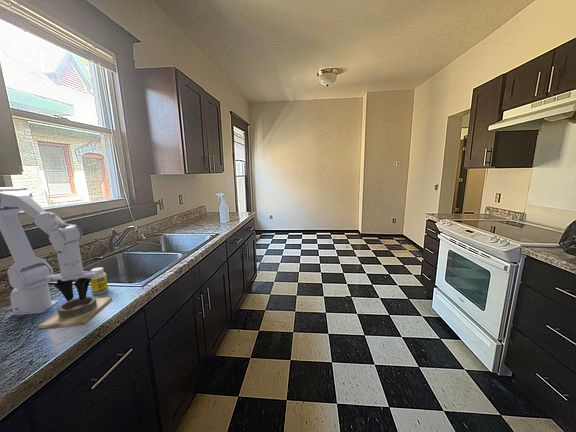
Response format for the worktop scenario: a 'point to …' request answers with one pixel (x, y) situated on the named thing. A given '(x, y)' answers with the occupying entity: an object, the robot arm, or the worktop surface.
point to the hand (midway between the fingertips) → (76, 299)
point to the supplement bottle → (99, 282)
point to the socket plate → (76, 319)
